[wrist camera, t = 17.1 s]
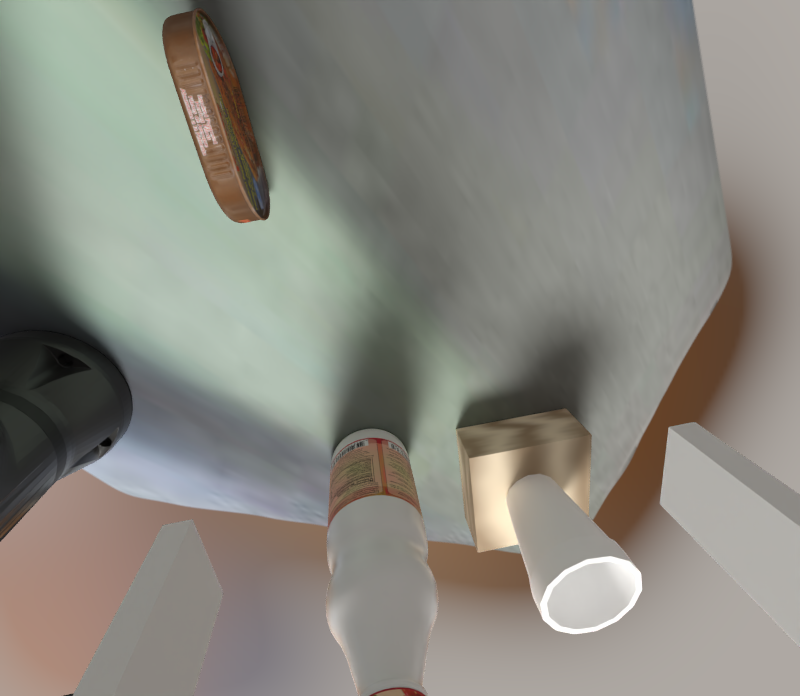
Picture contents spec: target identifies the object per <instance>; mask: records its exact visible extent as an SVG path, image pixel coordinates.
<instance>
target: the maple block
mask: <svg viewBox="0 0 800 696" xmlns="http://www.w3.org/2000/svg"><path fill="white" fill-rule="evenodd" d="M456 434H457V444H458V453H459V463H460V473H461V482H462V492H463V501H464V511H465V518H466V521H467V523H468V526H469V529H470V532H471V535H472V537H473V540H474V543H475V546H476V548H477V551H478V552H483V551H487V550H493V549H498V548H503V547H507V546H512V545H517V544H518V540H517V537H516V534H515V531H514V527H513V524H512V521H511V518H510V515H509V511H508V507H507V503H506V497H507V494H508V491H509V489H510V488H511V487H512V486H513V485H514V484H515V482H516V481H518V480H520V479H522V478H524V477H526V476H527V475H534V474H542V475H546V476H549V477H551V478H552V479H553V480H554V481H555V482H556V483H557V484H558V485H559V486H560V487H561V488H562V489H563V490H564V492H565V493H566V494H567V495H568V496H569V497H570V498H571V499H572V500H573V501H574V502H575V503H576V504H577V505H578V506H579V507H580V508H581V509H582V510H583V511H584V512H585V513H586V514H587V515H588V517H589V490H590V464H591V437H592V435H591V434H590V433H589V432H588V431H587V430H586V429H585V428H584V427H583V426H582V424H581V423H580V422H579V421H578V420H577V419H576V418H575V417H574V416H573V415H572V414H571V413H570V412H569V411H568V410H567V409H566V408H565V409H559V410H554V411H549V412H543V413H538V414H533V415H528V416H522V417H517V418H512V419H506V420H501V421H496V422H490V423H485V424H480V425H474V426H469V427H464V428H459V429H456Z"/></svg>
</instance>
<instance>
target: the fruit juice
mask: <svg viewBox="0 0 800 696" xmlns="http://www.w3.org/2000/svg"><path fill="white" fill-rule="evenodd" d="M427 555H428V544H427V536H426V530H425V525H424V521H423V518H422V513H421V509H420V505H419V500H418V496H417V491H416V487H415V483H414V478H413V474H412V470H411V465H410V461H409V457H408V453H407V451H406V449H405V447H404V445H403V444H402V442H401V441H400V440H399V439H398V438H397V437H396V436H394V435H393V434H391V433H389V432H387V431H384V430H380V429H363V430H359V431H356V432H354V433H352V434H350V435H348V436H347V437H346V438H344V439H343V440H342V441H341V442H340V443H339V445H338V446H337V448H336V449H335V451H334V454H333V457H332V461H331V473H330V493H329V514H328V533H327V558H328V564H329V569H330V572H331V574H332V577H331V580H330V583H329V586H328V590H327V596H326V614H327V621H328V625H329V627H330V630H331V632H332V634H333V636H334V638H335V639H336V641H337V642H338V643H339V645H340V646H341V647H342V649H343V651H344V654H345V656H346V659H347V661H348V664H349V668H350V671H351V674H352V677H353V680H354V683H355V686H356V689H357V693H358V696H428V695H427V692H426V690H425V689H424V687H423V686H422V685H423V677H424V671H425V663H426V656H427V649H428V644H429V638H430V634H431V630H432V628H433V625H434V623H435V620H436V617H437V612H438V593H437V587H436V582H435V579H434V576H433V574H432V572H431V570H430V568H429V566H428V564H427V563H426V561H427Z"/></svg>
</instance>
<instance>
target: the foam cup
mask: <svg viewBox="0 0 800 696" xmlns="http://www.w3.org/2000/svg"><path fill="white" fill-rule="evenodd" d="M506 503H507V507H508V511H509V515H510V518H511V521H512V524H513V527H514V531H515V534H516V537H517V540H518V544H519V547H520V550H521V553H522V556H523V560H524V563H525V566H526V569H527V573H528V576H529V579H530V586H531V591H532V595H533V598H534V600H535V603H536V605H537V607H538V609H539V611H540V613H541V616H542V618H543V620H544V621H545V622H546V623H548V624H549V625H550V626H551V627H552V628H554V629H555V630H556V631H561V632H566V633H571V634H579V633H586V632H592V631H597V630H599V629H601V628H603V627H606V626H607V625H610V624H612V623H614V622H616V621H618V620H619V619H620V618H621V617H622V616H623V615H624V614H626V613H627V612H628V611H629V610H630V609H631V608H632V607H633V606H634V604H635V602H636V600H637V598H638V597H639V594H640V593H641V591H642V580H641V573H640V571H639V570H638V569H637V567H636V566H635V565H634V563H633V562H632V561H631V559H630V558H629V557H628V556H627V554H626V553H625V551H624V550H623V549H622V548H621V547H620V546H619V545H618V544H617V543H616V542H615V541H614V540H612V539H610V538H609V537H608V536H607V535H606V534H605V533H604V532H603V531H602V530H601V529H600V528H599V527H598V526H597V525H596V524H595V523H594V522H593V521H592V520H591V519H590V518H589V517H588V515H587V514H586V513H585V512H584V511H583V510H582V509H581V508H580V507H579V506H578V505H577V504H576V503H575V502H574V501H573V500H572V499H571V498H570V497H569V496H568V495H567V494H566V493H565V492H564V490H563V489H562V488H561V487H560V486H559V485H558V484H557V483H556V482H555V481H554V480H553V479H552V478H551V477H549V476H546V475H542V474H534V475H527V476H526V477H524V478H522V479H520V480H518V481H516V482H515V484H514V485H513V486H512V487H511V488H510V489H509V491H508V494H507V497H506Z"/></svg>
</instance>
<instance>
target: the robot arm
mask: <svg viewBox="0 0 800 696" xmlns="http://www.w3.org/2000/svg"><path fill="white" fill-rule="evenodd" d="M131 416H132V400H131V395H130V392H129V389H128V386H127V384H126V382H125V380H124V378H123V377H122V375H121V374H120V372H119V371H118V370H117V368H116V367H115V366H114V365H113V364H112V363H111V362H110V361H109V360H108V359H107V358H106V357H105V356H104V355H102V354H101V353H100V352H98V351H97V350H96V349H94V348H92V347H91V346H89V345H87V344H85V343H84V342H82V341H79V340H77V339H75V338H72V337H69V336H66V335H63V334H59V333H54V332H48V331H22V332H16V333H12V334H8V335H5V336H3V337H0V541H1V540H2V539H3V538H4V537H5V536H6V535H7V534H8V533H9V532H10V531H11V530H12V528H13V527H14V526H15V525H16V524H17V523H18V522H19V521H20V520H21V519H22V517H23V516H24V515H25V514H26V513H27V512H28V511H29V510H30V509H31V508H32V507H33V506H34V504H35V503H36V502H37V501H38V500H39V499H40V498H41V497H42V496H43V495H44V494H45V493H46V492H47V490H48V489H49V488H50V487H51V486H52V485H53V484H54V483H55V482H56V481H57V480H60V479H61V478H64V477H66V476H68V475H69V474H72V473H73V472H76V471H78V470H80V469H82V468H84V467H86V466H88V465H90V464H92V463H94V462H95V461H97V460H99V459H100V458H102V457H103V456H104V455H106V454H107V453H108V452H109V451H110V450H111V449H112V448H113V447H114V446H115V444H116V443H117V442H118V441H119V440H120V439H121V438H122V436H123V435H124V434H125V432H126V430H127V428H128V426H129V424H130V420H131ZM660 505H661V506H662V507H663V508H664V509H665V510H666V511H667V512H668V513H669V514H670V515H671V516H672V517H673V518H674V519H675V520H676V521H677V522H678V523H679V524H680V525H681V526H682V527H683V528H684V529H685V530H686V531H687V532H688V533H689V534H690V535H691V536H692V537H693V538H694V539H695V541H697V543H698V544H699V545H700V546H701V547H702V548H703V549H704V550H705V551H706V552H707V553H708V554H709V555H710V556H711V557H712V558H713V559H714V560H715V561H716V562H717V563H718V564H719V565H720V566H721V567H722V568H723V569H724V570H725V571H726V572H727V573H728V574H729V575H730V576H731V577H732V579H733V580H734V581H735V582H736V583H737V584H738V585H739V586H741V588H742V589H743V590H744V591H745V592H746V593H747V594H748V595H749V596H750V597H751V598H752V599H753V600H754V601H755V602H756V603H757V604H758V605H759V606H760V607H761V608H762V609H763V610H764V611H765V613H766V614H768V616H770V618H771V619H772V620H773V621H774V622H775V623H776V624H777V625H778V626H779V627H780V628H781V629H782V630H783V631H784V632H785V633H786V634H787V635H788V636H789V637H790V638H791V639H792V640H793V641H794V642H795V643H796V644H797V645H798V646H799V647H800V494H798V493H797V492H795V491H794V490H792V489H791V488H789V487H788V486H787V485H785V484H784V483H782V482H781V481H779V480H778V479H776V478H775V477H774V476H772V475H771V474H769V473H767V472H766V471H765V470H763V469H762V468H761V467H759V466H758V465H756V464H755V463H753V462H752V461H751V460H749V459H747V458H746V457H745V456H743V455H742V454H740V453H739V452H737V451H736V450H735V449H733V448H732V447H730V446H729V445H727V444H726V443H724V442H723V441H722V440H720V439H718V438H717V437H716V436H714V435H713V434H711V433H710V432H708V431H707V430H706V429H704V428H703V427H701V426H700V425H698V424H697V423H695V422H692V423H687V424H682V425H677V426H672V427H669V430H668V439H667V447H666V456H665V465H664V473H663V482H662V490H661V499H660ZM222 597H223V591H222V588H221V586H220V584H219V581H218V579H217V576H216V574H215V572H214V569H213V567H212V564H211V562H210V560H209V557H208V555H207V553H206V550H205V548H204V545H203V543H202V541H201V538H200V536H199V534H198V531H197V529H196V526H195V524H194V522H193V520H187V521H182V522H177V523H172V524H166V525H163V526H162V528H161V529H160V531H159V533H158V535H157V537H156V539H155V541H154V543H153V545H152V546H151V548H150V550H149V552H148V554H147V556H146V558H145V560H144V562H143V564H142V565H141V567H140V569H139V571H138V573H137V575H136V577H135V579H134V581H133V582H132V584H131V586H130V588H129V590H128V592H127V594H126V596H125V598H124V599H123V601H122V603H121V605H120V607H119V609H118V611H117V613H116V615H115V616H114V618H113V620H112V622H111V624H110V626H109V628H108V630H107V632H106V633H105V635H104V638H103V639H102V641H101V643H100V645H99V647H98V649H97V651H96V652H95V654H94V656H93V658H92V660H91V662H90V664H89V666H88V668H87V669H86V671H85V673H84V675H83V677H82V679H81V681H80V683H79V685H78V687H77V688H76V690H75V692H74V694H69V695H64V696H194V693H195V689H196V686H197V682H198V679H199V675H200V672H201V669H202V665H203V662H204V659H205V655H206V651H207V648H208V645H209V641H210V638H211V634H212V631H213V628H214V624H215V621H216V617H217V614H218V611H219V607H220V604H221V601H222Z"/></svg>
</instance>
